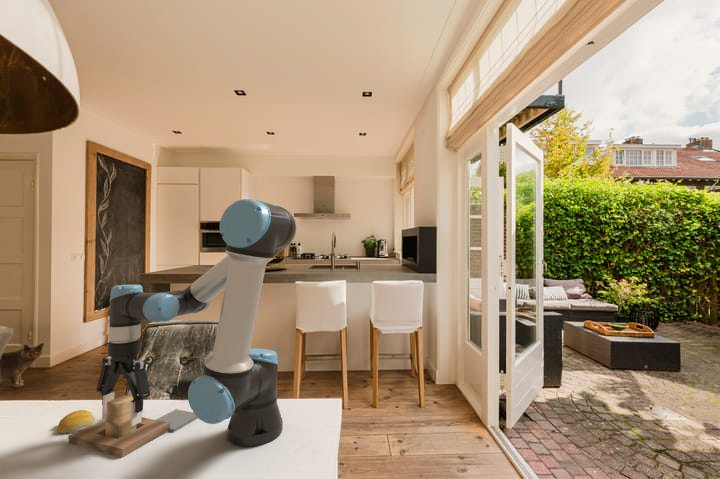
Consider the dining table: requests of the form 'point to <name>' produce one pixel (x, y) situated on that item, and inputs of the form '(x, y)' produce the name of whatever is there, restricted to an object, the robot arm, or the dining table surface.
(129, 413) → the oak block
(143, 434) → the walnut board
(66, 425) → the bread roll
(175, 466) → the dining table surface
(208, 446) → the dining table surface
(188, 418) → the slate board
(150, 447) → the dining table surface
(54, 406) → the dining table surface
